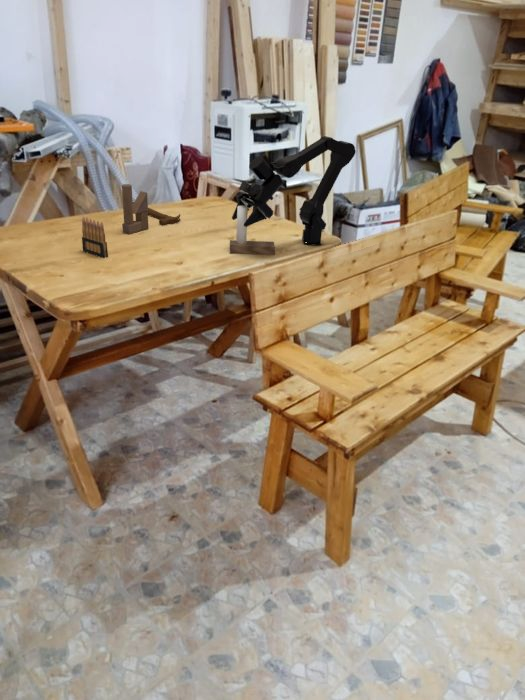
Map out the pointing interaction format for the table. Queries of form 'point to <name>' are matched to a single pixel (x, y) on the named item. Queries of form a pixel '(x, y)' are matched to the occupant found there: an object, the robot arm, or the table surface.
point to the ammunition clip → (94, 238)
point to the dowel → (241, 224)
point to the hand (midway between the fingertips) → (238, 222)
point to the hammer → (163, 217)
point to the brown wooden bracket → (134, 210)
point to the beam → (253, 247)
